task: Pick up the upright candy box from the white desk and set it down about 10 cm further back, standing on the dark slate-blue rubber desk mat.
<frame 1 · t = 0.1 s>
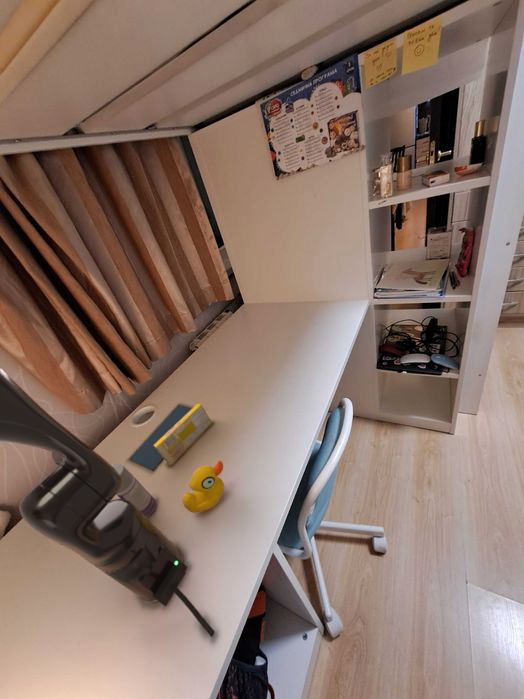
beverage cup: (94, 477, 83), on the table
container: (147, 508, 70), on the table
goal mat: (167, 434, 88), on the table
candy box: (191, 442, 83), on the table
duckling: (213, 499, 67), on the table
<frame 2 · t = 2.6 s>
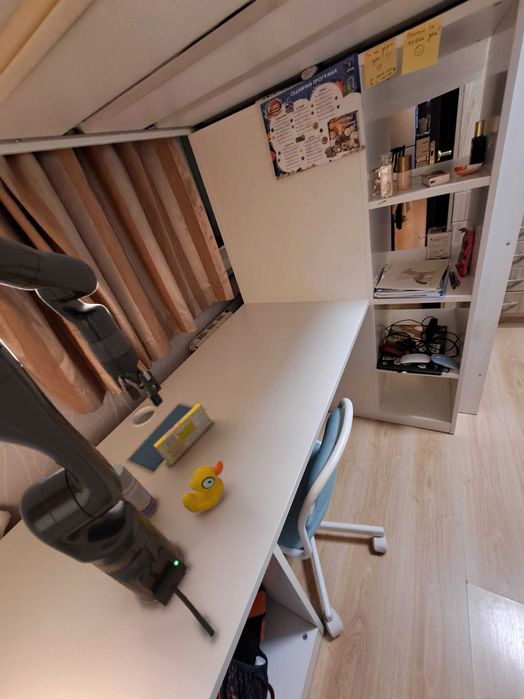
hand: (148, 401, 73), 19 cm above the table, tool pointing down, fingers open, 8 cm apart
nothing on the table moved.
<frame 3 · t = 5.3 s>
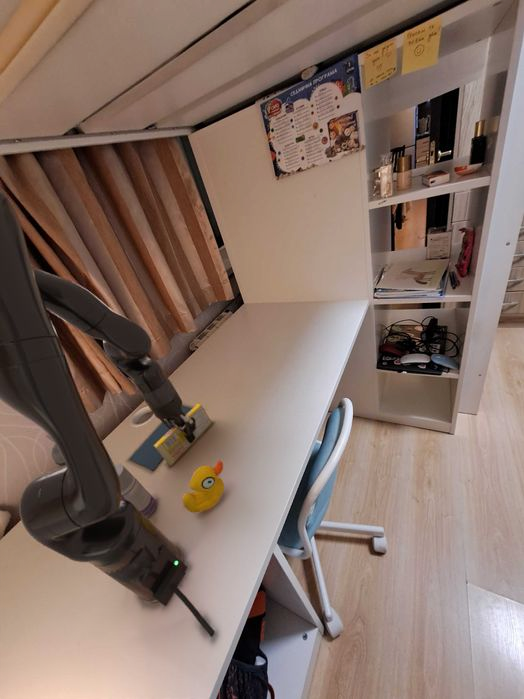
hand: (188, 439, 82), 2 cm above the table, tool pointing down, fingers closed on candy box, 2 cm apart
candy box: (191, 442, 83), on the table, touching gripper
everything else where it was.
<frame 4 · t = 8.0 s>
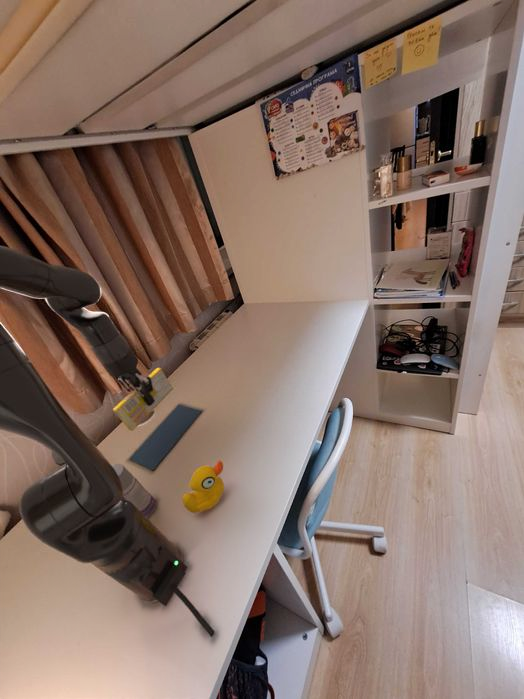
hand: (148, 402, 80), 14 cm above the table, tool pointing down, fingers closed on candy box
candy box: (152, 408, 81), point 12 cm above the table, touching gripper
everything else where it was.
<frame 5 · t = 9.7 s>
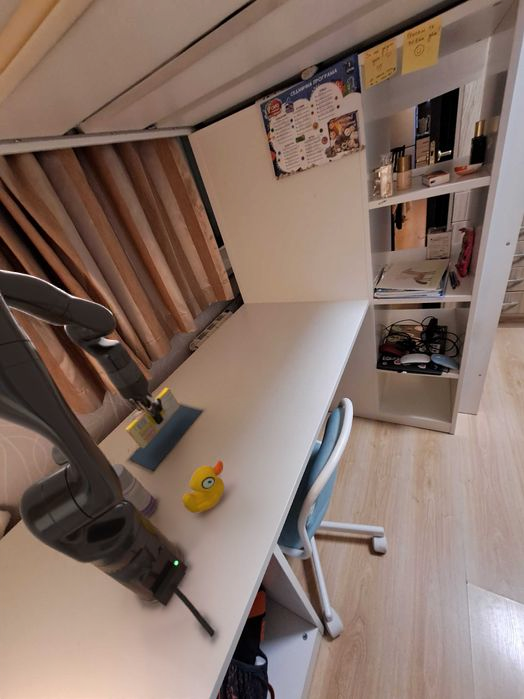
hand: (157, 420, 85), 6 cm above the table, tool pointing down, fingers closed on candy box
candy box: (161, 426, 87), point 4 cm above the table, touching gripper
everything else where it was.
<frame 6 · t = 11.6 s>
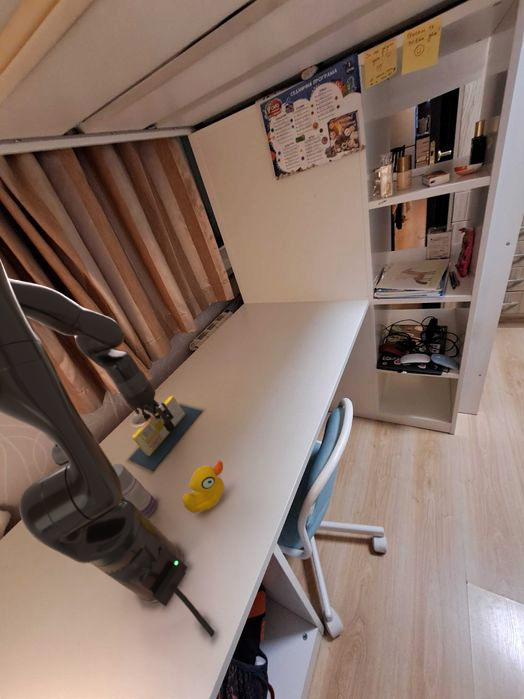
hand: (162, 426, 86), 4 cm above the table, tool pointing down, fingers open, 8 cm apart
candy box: (167, 433, 88), resting on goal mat
everything else where it was.
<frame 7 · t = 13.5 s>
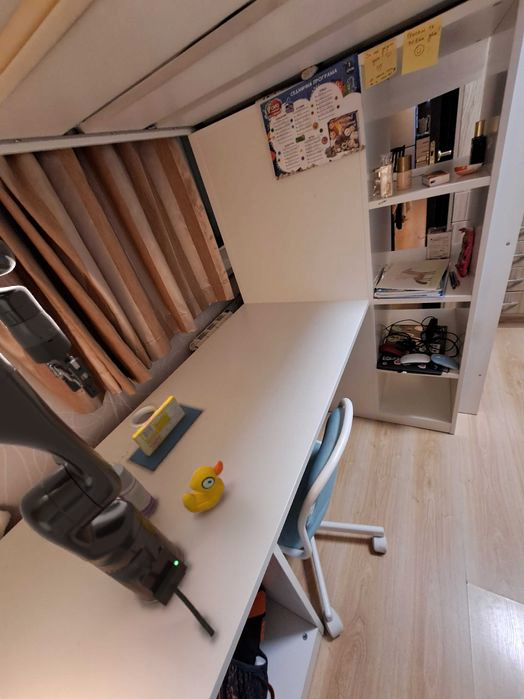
hand: (86, 392, 69), 27 cm above the table, tool pointing down, fingers open, 8 cm apart
nothing on the table moved.
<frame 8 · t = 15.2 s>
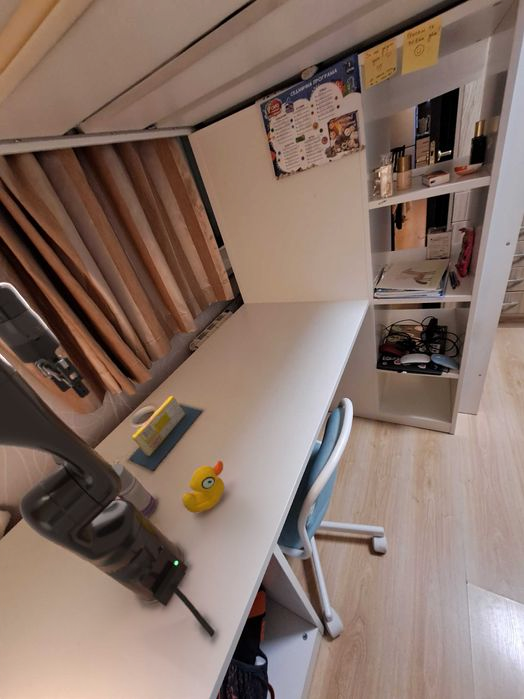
hand: (76, 392, 67), 28 cm above the table, tool pointing down, fingers open, 8 cm apart
nothing on the table moved.
at the end: candy box inside the target area (0.1 cm from its centre), resting on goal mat; candy box tilted 0°; candy box moved 10.2 cm from its start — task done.
